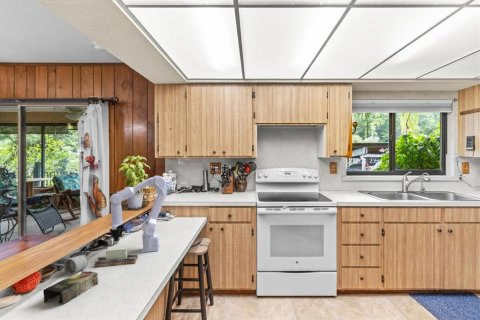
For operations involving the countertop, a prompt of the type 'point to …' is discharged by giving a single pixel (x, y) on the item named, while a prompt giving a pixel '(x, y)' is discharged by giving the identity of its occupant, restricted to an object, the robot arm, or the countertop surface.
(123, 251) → the door panel
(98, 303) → the countertop surface
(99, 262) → the track board
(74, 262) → the grey cylinder
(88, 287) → the mossy channel block
